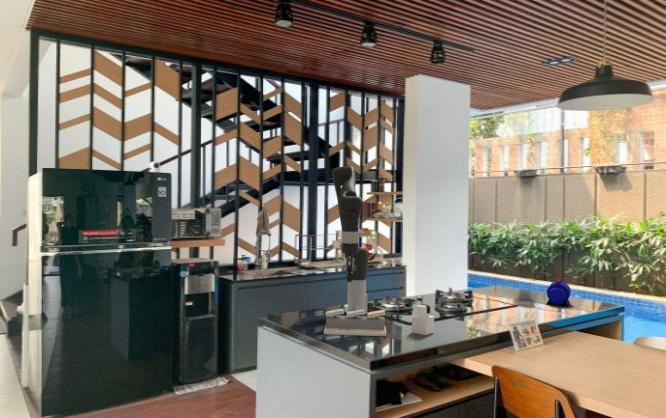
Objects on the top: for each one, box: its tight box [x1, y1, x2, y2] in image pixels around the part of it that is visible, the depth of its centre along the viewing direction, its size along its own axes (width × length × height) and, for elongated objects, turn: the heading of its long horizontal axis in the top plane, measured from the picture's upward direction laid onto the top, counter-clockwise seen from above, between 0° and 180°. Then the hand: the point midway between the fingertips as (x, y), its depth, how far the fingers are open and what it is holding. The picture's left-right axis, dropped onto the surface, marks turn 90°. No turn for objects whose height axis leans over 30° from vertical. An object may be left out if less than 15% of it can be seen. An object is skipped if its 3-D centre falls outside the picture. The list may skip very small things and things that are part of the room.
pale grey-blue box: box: [345, 309, 365, 318], centre depth 223 cm, size 8×5×2 cm, turn 87°
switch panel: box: [323, 315, 387, 337], centre depth 221 cm, size 26×13×6 cm, turn 86°
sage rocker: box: [325, 308, 345, 318], centre depth 223 cm, size 8×5×2 cm, turn 87°
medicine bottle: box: [411, 303, 435, 336], centre depth 221 cm, size 7×7×12 cm
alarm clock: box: [546, 277, 572, 308], centre depth 296 cm, size 12×12×15 cm
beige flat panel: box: [366, 309, 386, 319], centre depth 222 cm, size 8×5×2 cm, turn 87°
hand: (349, 281), depth 224 cm, fingers closed
